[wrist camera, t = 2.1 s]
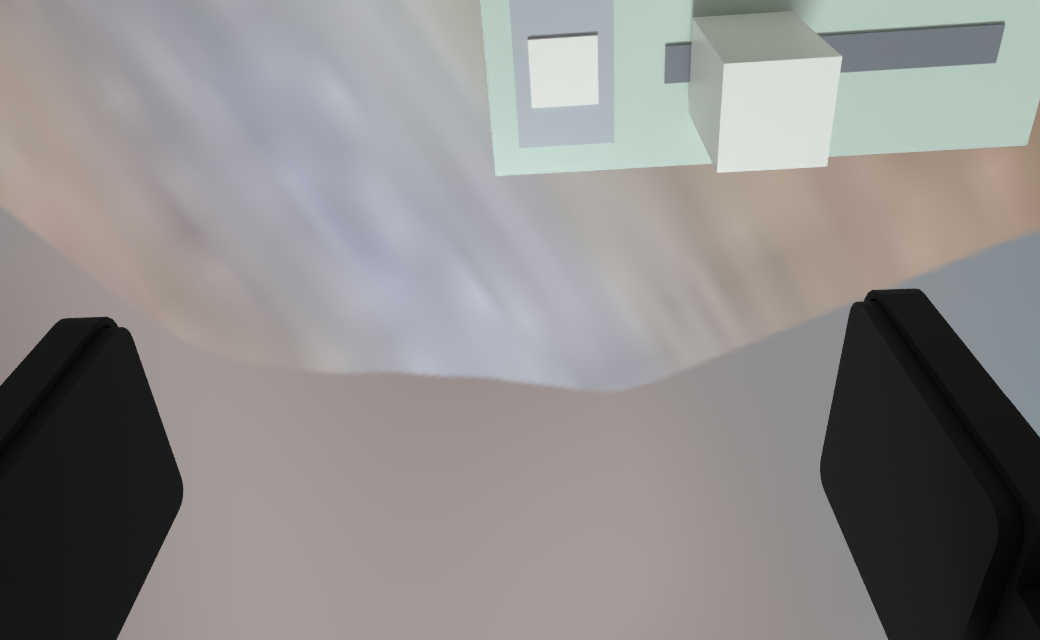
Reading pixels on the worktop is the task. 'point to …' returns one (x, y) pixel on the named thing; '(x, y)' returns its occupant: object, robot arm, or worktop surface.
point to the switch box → (666, 77)
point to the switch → (762, 91)
